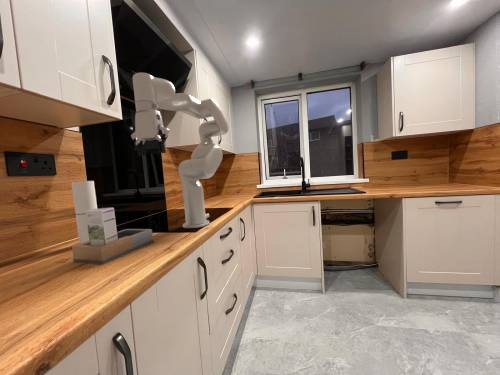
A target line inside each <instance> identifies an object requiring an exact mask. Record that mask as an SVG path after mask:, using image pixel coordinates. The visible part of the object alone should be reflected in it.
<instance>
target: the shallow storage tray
mask: <svg viewBox="0 0 500 375" xmlns="http://www.w3.org/2000/svg"><path fill="white" fill-rule="evenodd" d="M117 236H118V239H117V240H114V241H111V242H108V243H105V244H102V245H99V246H92V245H90V241H87V242H83V243H80V244H79V243H78V244H74V245H72V246H71V249H72V257H73V258H72V262H73V263H84V264H97V265H98V264H99V265H105V264H107V263H109V262H112V261H114V260H117V259H118V258H120V257H121V258H122V257H123V256H125V255H127V254H130V253H133V252H135V251H137V250H140V249H142V248H144V247H147V246H148V245H151V244H153V243H154V238H153V229H151V228H126V229H122V230H120V231H117Z"/></svg>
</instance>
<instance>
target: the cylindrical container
mask: <svg viewBox="0 0 500 375" xmlns="http://www.w3.org/2000/svg"><path fill="white" fill-rule="evenodd" d="M71 190H72V191H71V192H72V199H73V206H74V213H75V220H76V229H77V237H78V244H80V243H83V242H87V241H89V234H88V227H87V219H86V212H85V211H89V210H92V209H98V204H97V195H96V188H95V181H94V180H85V181H72V182H71Z"/></svg>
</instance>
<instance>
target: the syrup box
mask: <svg viewBox="0 0 500 375" xmlns="http://www.w3.org/2000/svg"><path fill="white" fill-rule="evenodd" d="M85 212H86V219H87V227H88V234H89V241H90V245H92V246H99V245H102V244H105V243H108V242H111V241H114V240H117V239H118V236H117V232H118V230H117V223H116V221H117V220H116V215H115V214H116V213H115V208H114V207H101V208H98V207H97V209H92V210H89V211H85Z"/></svg>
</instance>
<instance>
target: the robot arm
mask: <svg viewBox="0 0 500 375" xmlns="http://www.w3.org/2000/svg"><path fill="white" fill-rule="evenodd" d="M132 86H133V93H134V95H133V96H134V105H135V110H136V111H135V118H134V127H135V130H134V132H133V133H131V135H130V137H131V139H132V141H133V143H134V144H135V145H136V146H137V148H136V149H137V155H138V156H143V157H144V156H146V146H145V145H144V144H145V143H146V141H153V140H157V153H159V154H166V142H167V139H168V137H169V133H170V129H169V128H167V127H165V126H164V122H163V117H162V114H161V112H160V111H159V110H158V109H161V110H165V111H173V112H179V113H184V114H185V115H188V116H191V117H193V118H195V119H197V120H198V119H199V120H203V119H207V118H211V117H212V118H213V120H207V121H204V122H202V123H201V124H200V125H199V127H198V135H199V137H200V141H199V144H198V145H197V146H196V147H195V148H194V150H193V151H192V153H191V155H190V156H191V157H190V159H186V160H183V161H181V162H180V163H179V165H178V168H177V169H178V170H177V171H178V175H179V178H180V182H181V187H182V199H183V208H184V215H185V216H184V217H185V222H184V223H183V224H182V228H184V229H196V228H203V227H206V226H209V225H210V220H208V218H210V214H209V213H206V209H205V208H206V207H205V197H204V196H205V195H204V187H203V185H202V183H201V181H200V180H203V179H204V180H205V179H210V178H212V177H213V176H214V175H215V173H216V171H217V170H218V168H219V167H220V165H221V163H222V161H223V156H224V155H223V150H222V148H221V147H220V146H219V145H217V144H216V143H215V141H214V140H213V139H212V137H219V136H225V135H226V134H228V132H229V124H228V122H227V119H226V117H225V115H224V113H223V110H222V109H221V107H220V104H218V102H217V101H216V100H215V99H214V98H207V99H203V100H199V99H198V98H195V97H194V96H192V95H191V94H189V93H185V92H179V93H178V92H177V93H176V88H175V86H174V84H173V83H172V82H171V81H169V80H167V79H164V78H161V77H155V76H153V75H151V74H150V73H147V72H136V73H134V74H133V75H132Z"/></svg>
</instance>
